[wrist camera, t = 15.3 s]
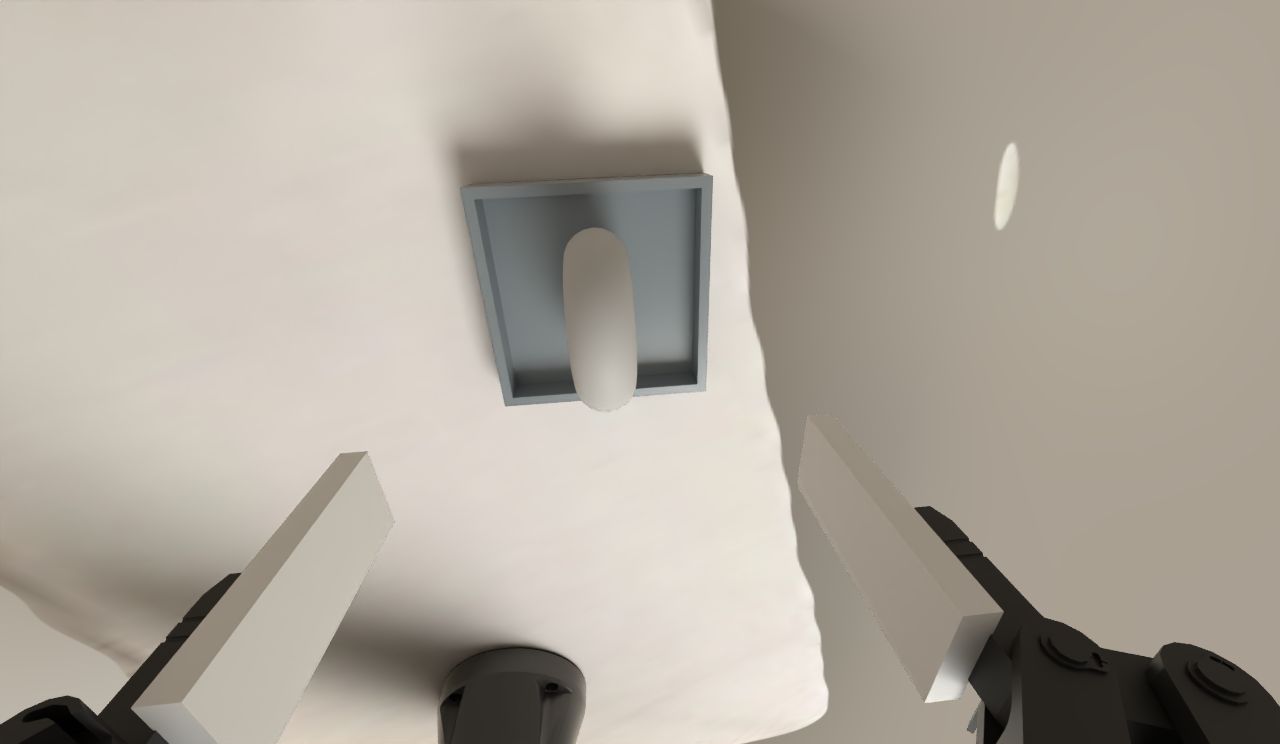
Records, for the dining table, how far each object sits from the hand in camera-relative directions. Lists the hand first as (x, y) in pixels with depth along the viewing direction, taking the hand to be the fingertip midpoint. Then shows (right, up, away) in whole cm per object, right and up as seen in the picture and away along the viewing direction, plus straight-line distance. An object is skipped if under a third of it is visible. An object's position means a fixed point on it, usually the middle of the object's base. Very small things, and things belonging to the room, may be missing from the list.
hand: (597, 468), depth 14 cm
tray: (-1, +8, +16) cm, 18 cm away
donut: (-1, +8, +16) cm, 18 cm away
